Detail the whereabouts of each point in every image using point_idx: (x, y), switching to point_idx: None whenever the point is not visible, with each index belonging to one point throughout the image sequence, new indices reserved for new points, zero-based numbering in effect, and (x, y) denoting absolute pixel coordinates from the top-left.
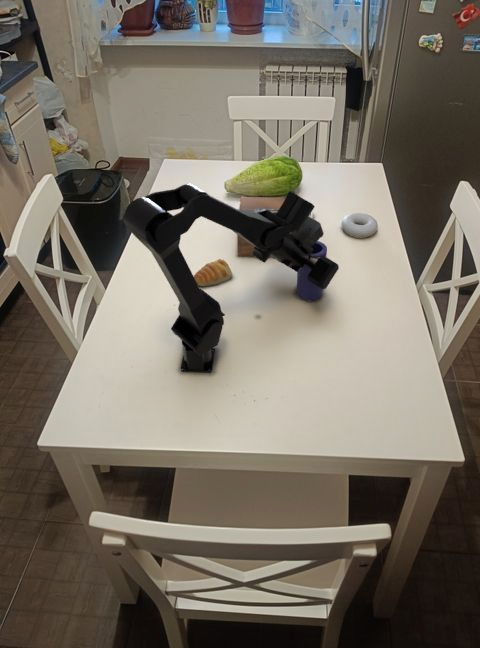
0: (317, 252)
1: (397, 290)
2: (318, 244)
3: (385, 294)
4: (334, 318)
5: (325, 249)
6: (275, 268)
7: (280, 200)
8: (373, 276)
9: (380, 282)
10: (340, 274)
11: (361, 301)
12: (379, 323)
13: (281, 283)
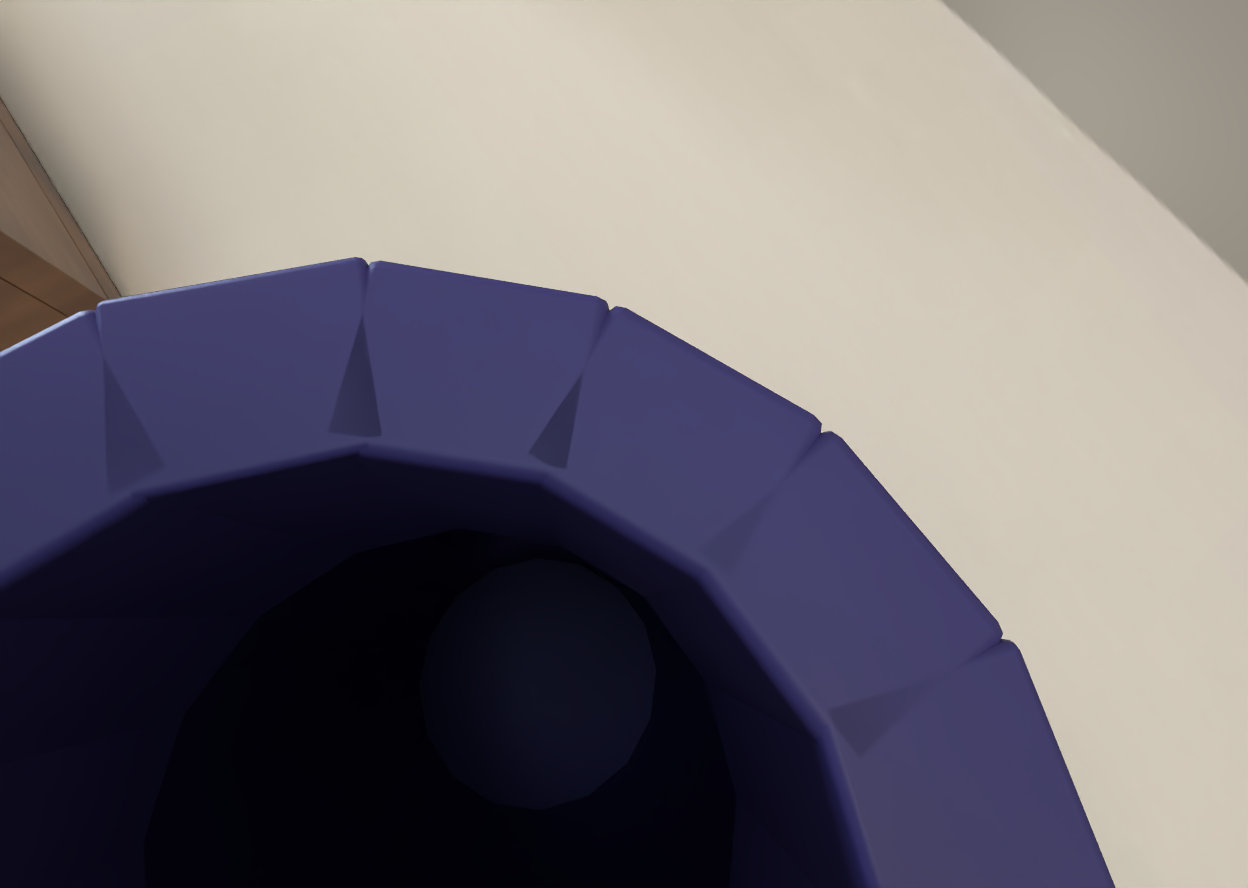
0: (460, 524)
1: (1041, 199)
2: (385, 467)
3: (1016, 283)
4: None
5: (933, 648)
6: None
7: None
8: (823, 160)
9: (902, 189)
10: (614, 277)
11: (951, 466)
12: (1223, 612)
13: None
